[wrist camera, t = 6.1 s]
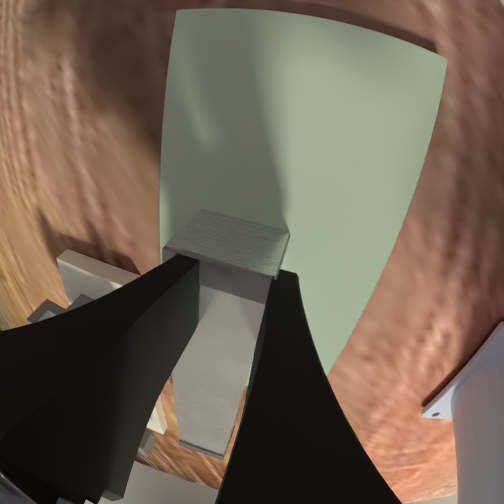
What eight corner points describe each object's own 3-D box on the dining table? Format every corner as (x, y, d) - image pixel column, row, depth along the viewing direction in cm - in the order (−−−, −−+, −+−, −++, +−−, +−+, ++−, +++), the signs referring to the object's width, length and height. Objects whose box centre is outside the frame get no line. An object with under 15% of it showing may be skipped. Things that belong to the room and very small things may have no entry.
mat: (440, 60, 6) (447, 59, 5) (311, 392, 14) (309, 401, 14) (185, 13, 7) (176, 9, 6) (172, 351, 15) (168, 359, 15)
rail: (291, 232, 9) (275, 279, 7) (233, 430, 18) (222, 460, 16) (200, 207, 10) (162, 245, 8) (192, 416, 18) (179, 444, 16)
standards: (142, 276, 13) (89, 337, 9) (168, 426, 23) (151, 462, 19) (66, 248, 14) (14, 292, 10) (120, 404, 23) (101, 437, 20)
